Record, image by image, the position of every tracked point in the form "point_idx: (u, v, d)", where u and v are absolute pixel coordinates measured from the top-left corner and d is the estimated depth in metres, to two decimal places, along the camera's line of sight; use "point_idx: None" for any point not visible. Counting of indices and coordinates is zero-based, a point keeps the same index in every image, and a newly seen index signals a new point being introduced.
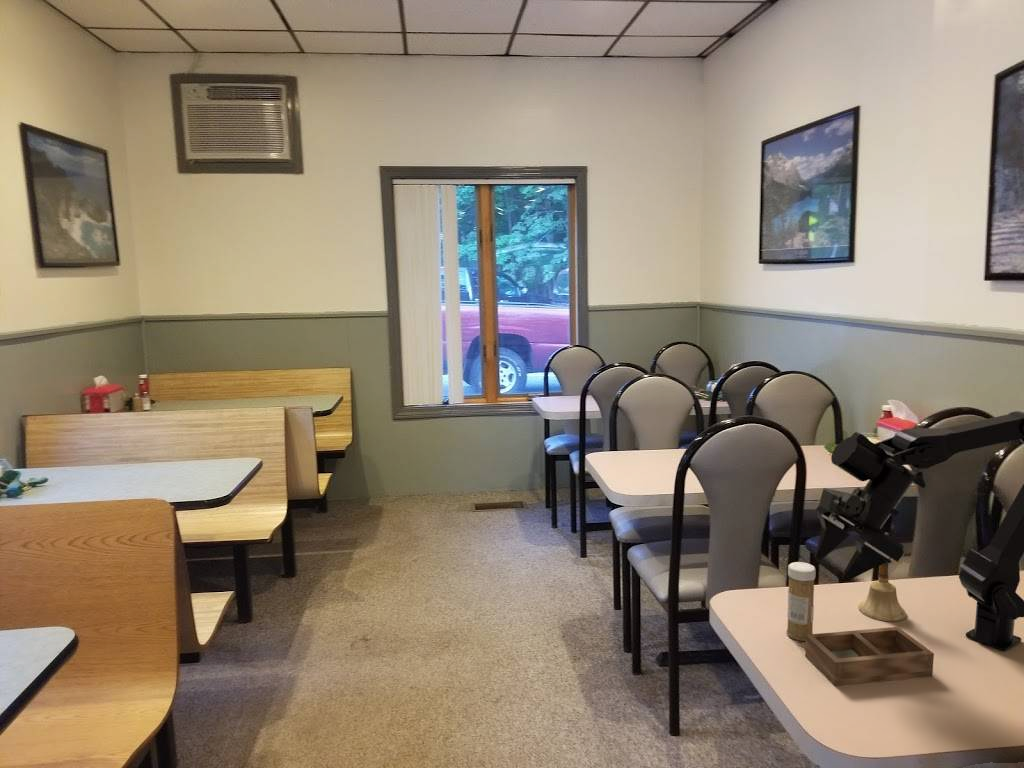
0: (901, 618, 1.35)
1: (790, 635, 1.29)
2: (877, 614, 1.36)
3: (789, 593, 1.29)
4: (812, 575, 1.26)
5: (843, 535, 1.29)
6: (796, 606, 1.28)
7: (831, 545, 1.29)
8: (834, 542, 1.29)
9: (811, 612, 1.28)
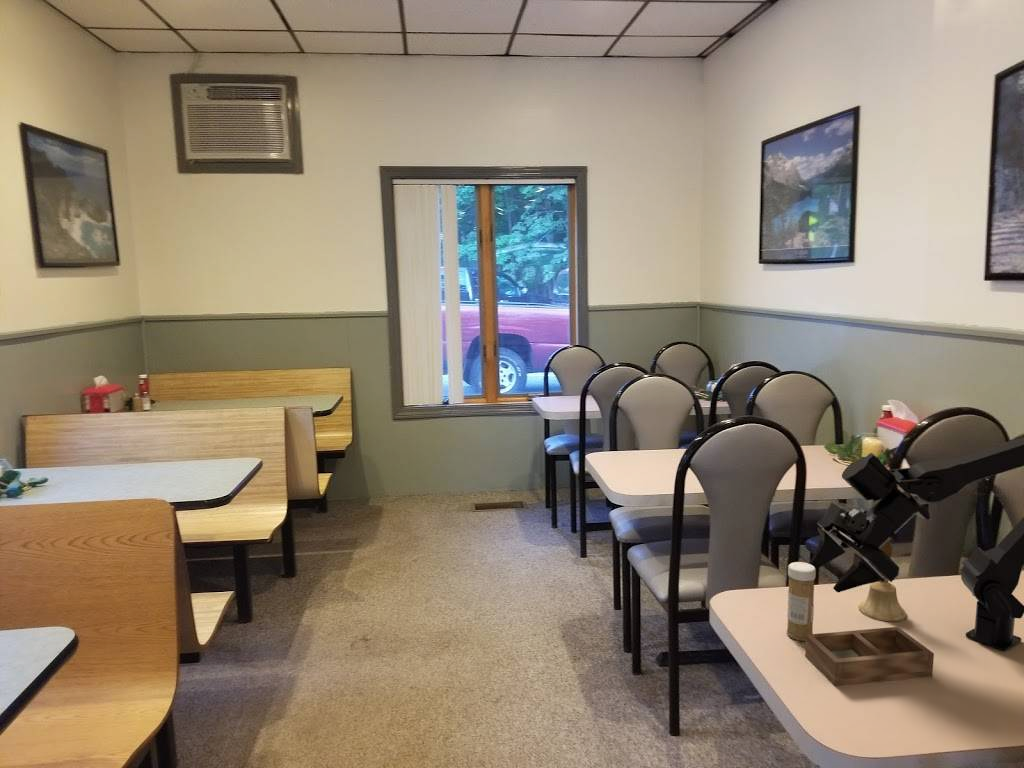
0: (901, 618, 1.35)
1: (790, 635, 1.29)
2: (877, 614, 1.36)
3: (789, 593, 1.29)
4: (812, 575, 1.26)
5: (839, 551, 1.34)
6: (796, 606, 1.28)
7: (825, 558, 1.34)
8: (829, 556, 1.34)
9: (811, 612, 1.28)
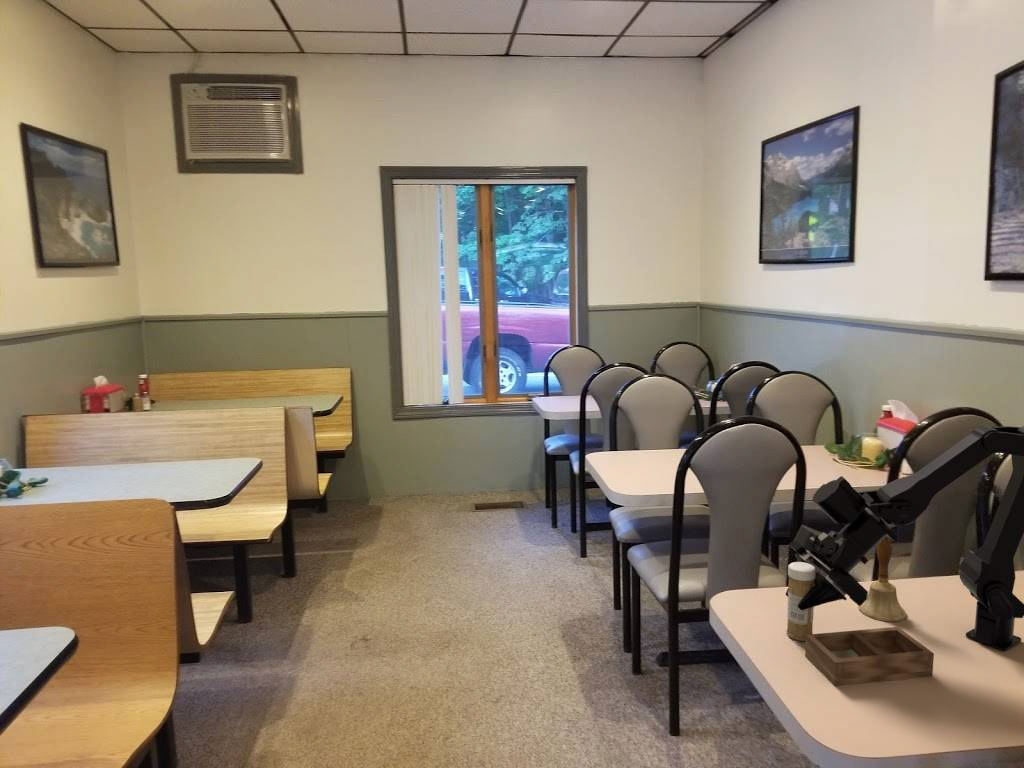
0: (901, 618, 1.35)
1: (790, 635, 1.29)
2: (877, 614, 1.36)
3: (789, 593, 1.29)
4: (812, 575, 1.26)
5: None
6: (796, 606, 1.28)
7: None
8: None
9: (811, 612, 1.28)
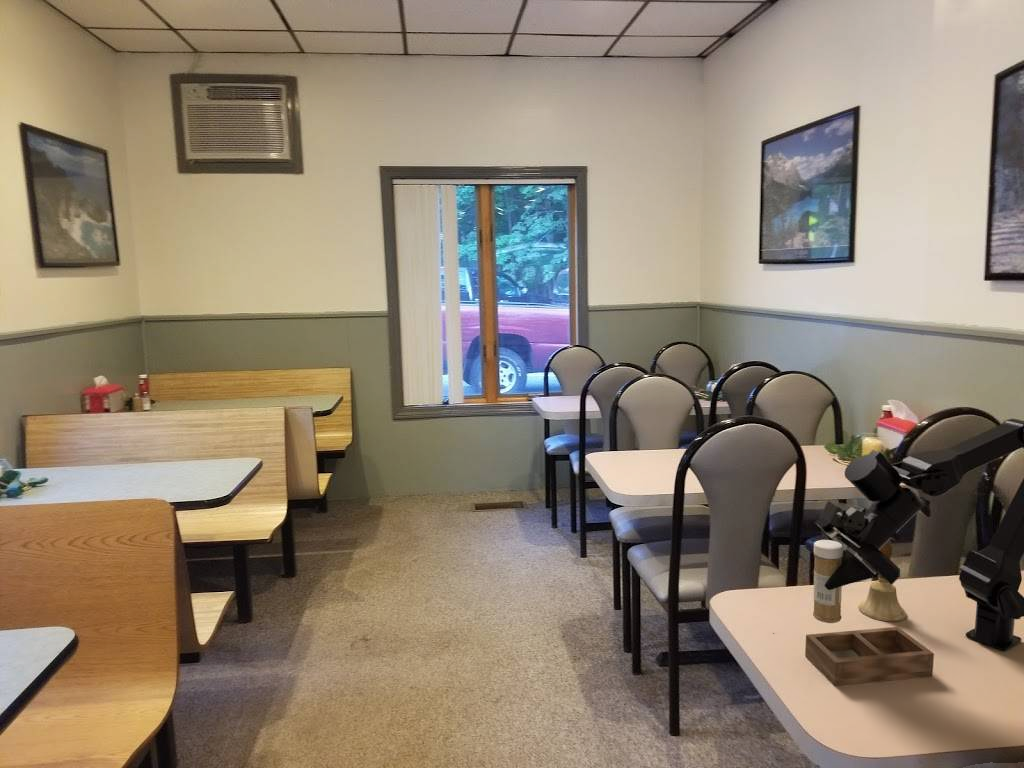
0: (901, 618, 1.35)
1: (817, 617, 1.22)
2: (877, 614, 1.36)
3: (815, 572, 1.22)
4: (840, 552, 1.20)
5: (844, 557, 1.25)
6: (823, 586, 1.21)
7: None
8: None
9: (839, 592, 1.21)
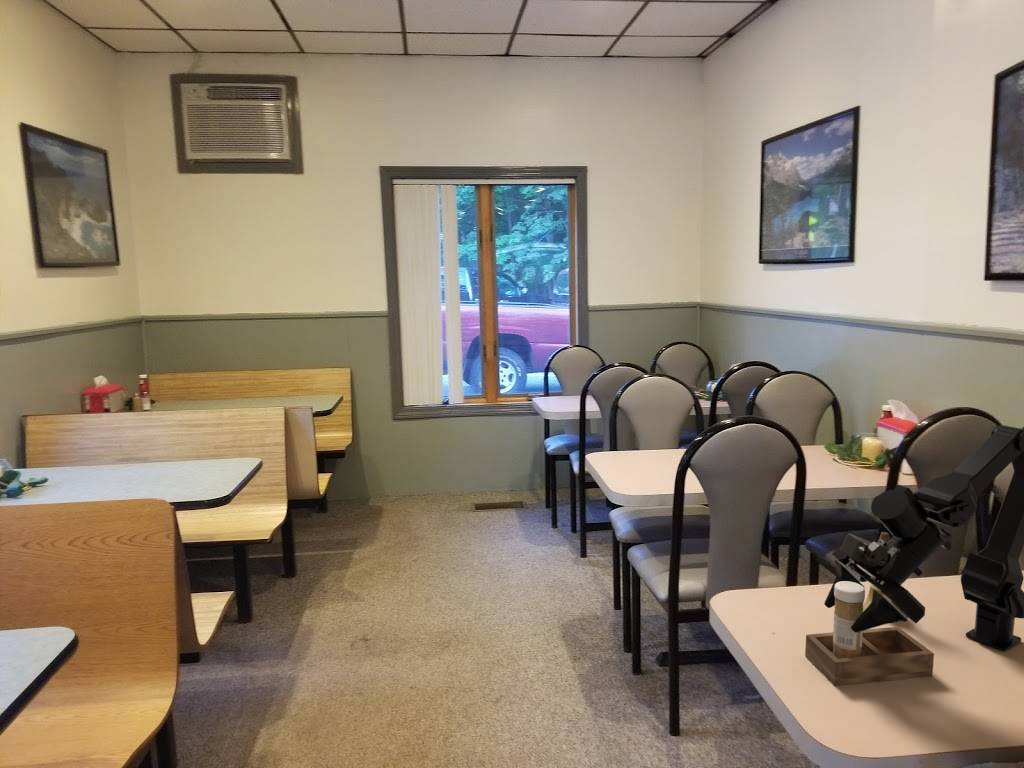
0: None
1: None
2: None
3: (835, 615, 1.18)
4: (862, 596, 1.15)
5: None
6: (844, 630, 1.17)
7: None
8: None
9: (860, 636, 1.17)
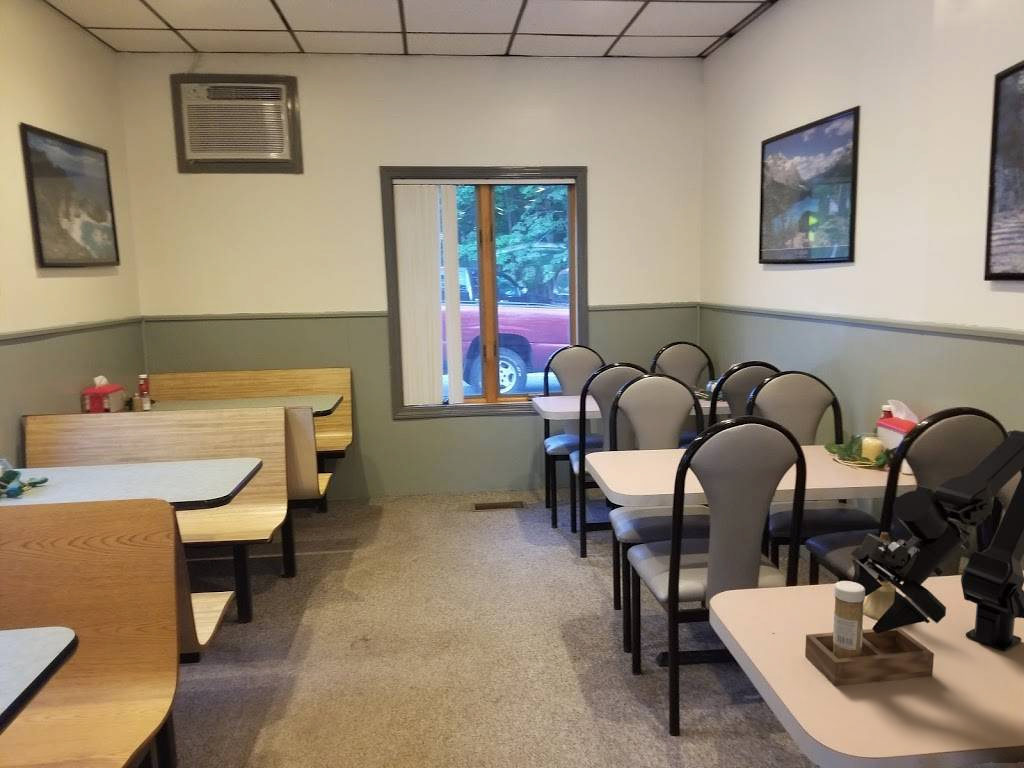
0: None
1: None
2: (877, 614, 1.36)
3: (835, 615, 1.18)
4: (862, 595, 1.15)
5: (875, 585, 1.23)
6: (844, 630, 1.17)
7: None
8: (865, 591, 1.23)
9: (860, 636, 1.17)
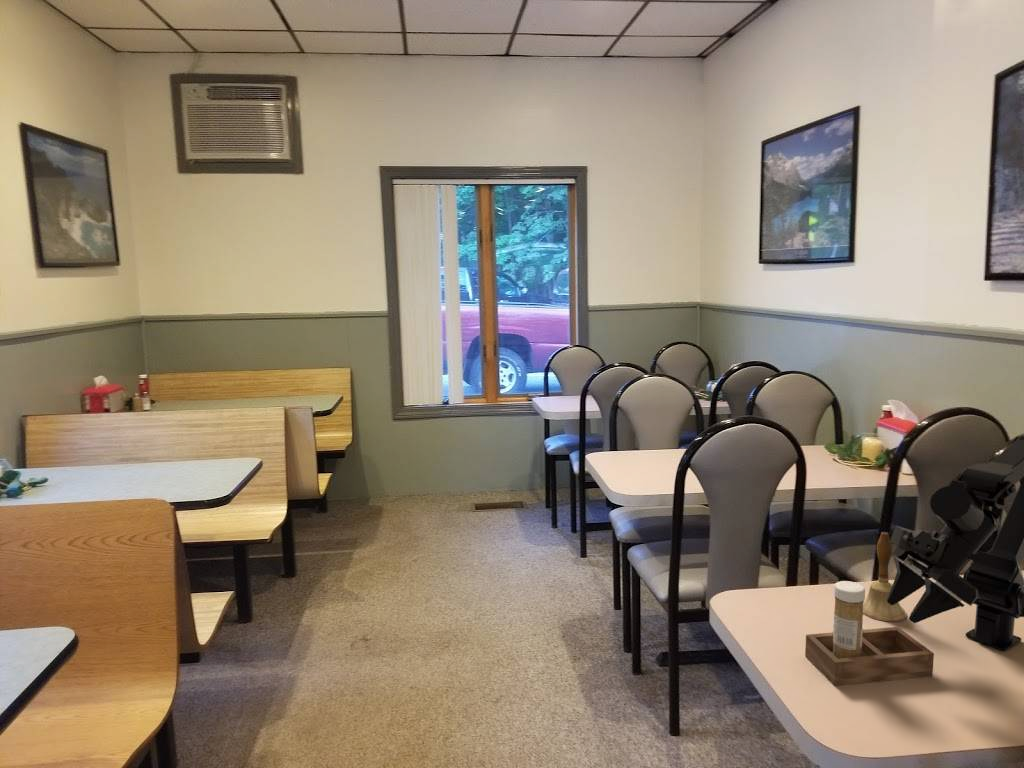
0: (901, 618, 1.35)
1: None
2: (877, 614, 1.36)
3: (835, 615, 1.18)
4: (862, 595, 1.15)
5: (920, 582, 1.23)
6: (844, 630, 1.17)
7: (905, 590, 1.23)
8: (909, 588, 1.23)
9: (860, 636, 1.17)
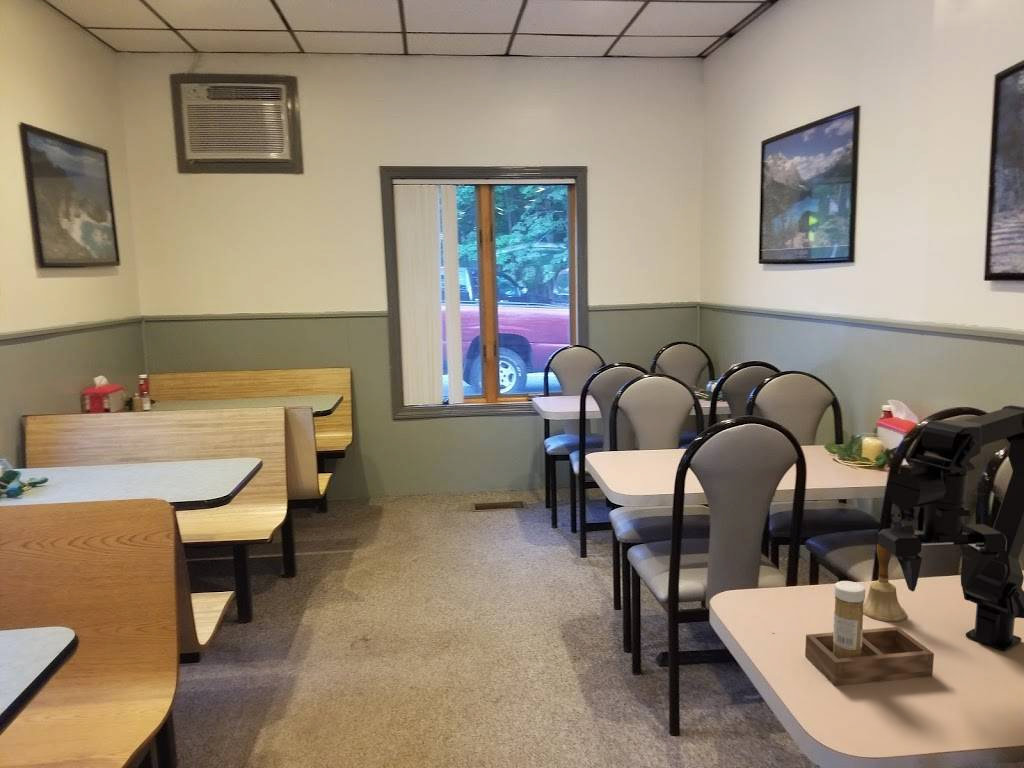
0: (901, 618, 1.35)
1: None
2: (877, 614, 1.36)
3: (836, 615, 1.18)
4: (862, 595, 1.15)
5: (977, 557, 1.16)
6: (844, 630, 1.17)
7: (970, 569, 1.18)
8: (971, 566, 1.17)
9: (860, 636, 1.17)
